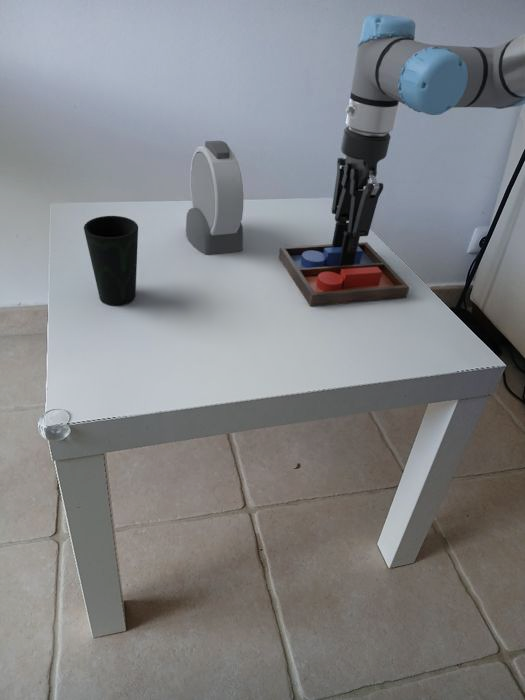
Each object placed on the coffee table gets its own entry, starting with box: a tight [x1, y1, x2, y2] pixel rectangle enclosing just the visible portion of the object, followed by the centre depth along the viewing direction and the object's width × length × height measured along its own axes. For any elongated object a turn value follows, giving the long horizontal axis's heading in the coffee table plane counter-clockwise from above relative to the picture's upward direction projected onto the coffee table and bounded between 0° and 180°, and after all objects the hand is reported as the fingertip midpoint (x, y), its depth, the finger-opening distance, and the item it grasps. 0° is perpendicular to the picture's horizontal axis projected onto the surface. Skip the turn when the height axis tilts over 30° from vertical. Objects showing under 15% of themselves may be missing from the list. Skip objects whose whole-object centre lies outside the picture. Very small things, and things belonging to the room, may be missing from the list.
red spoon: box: [317, 267, 382, 292], centre depth 91 cm, size 11×4×3 cm, turn 106°
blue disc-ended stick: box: [301, 246, 363, 268], centre depth 97 cm, size 11×4×3 cm, turn 106°
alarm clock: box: [185, 140, 245, 256], centre depth 98 cm, size 16×10×18 cm, turn 23°
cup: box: [83, 215, 139, 307], centre depth 80 cm, size 8×8×12 cm
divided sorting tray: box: [278, 241, 410, 307], centre depth 95 cm, size 18×17×2 cm
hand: (341, 260), depth 98 cm, fingers open, 3 cm apart
